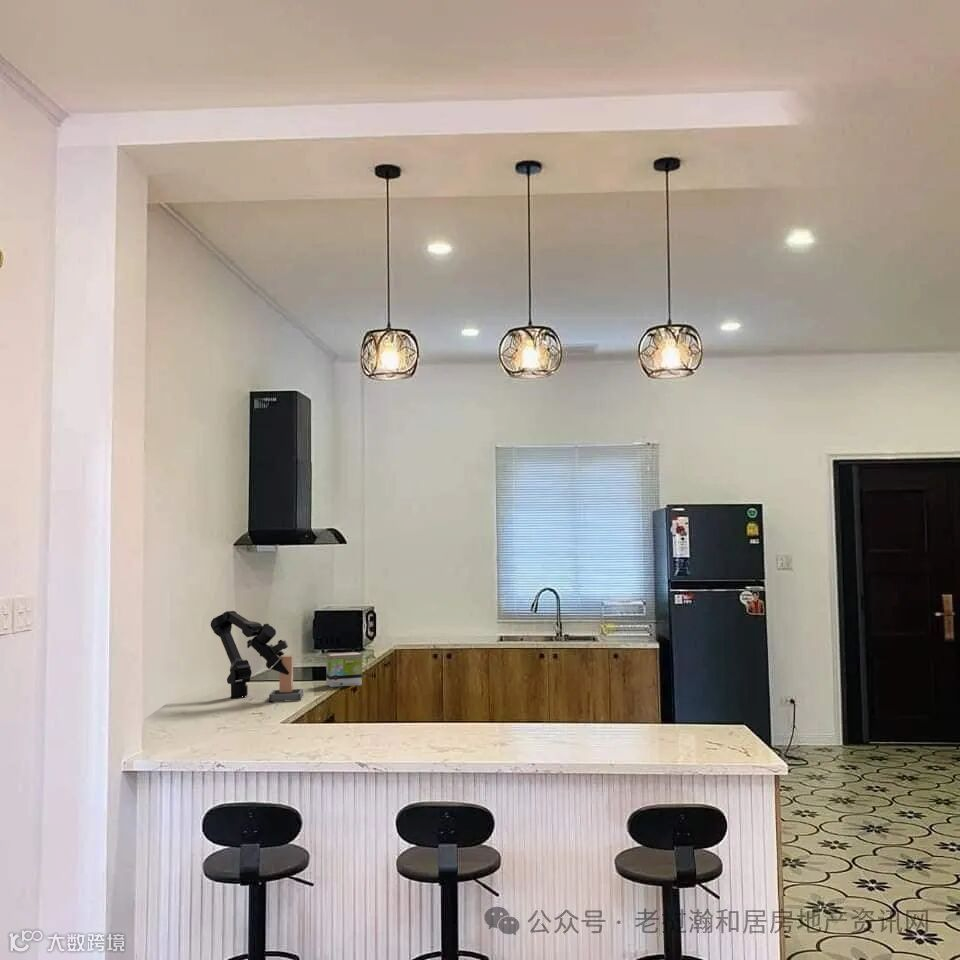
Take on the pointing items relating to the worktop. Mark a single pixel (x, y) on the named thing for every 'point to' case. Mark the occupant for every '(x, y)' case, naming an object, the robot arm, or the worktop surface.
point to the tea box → (344, 669)
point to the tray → (286, 695)
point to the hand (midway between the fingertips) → (289, 672)
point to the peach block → (286, 680)
